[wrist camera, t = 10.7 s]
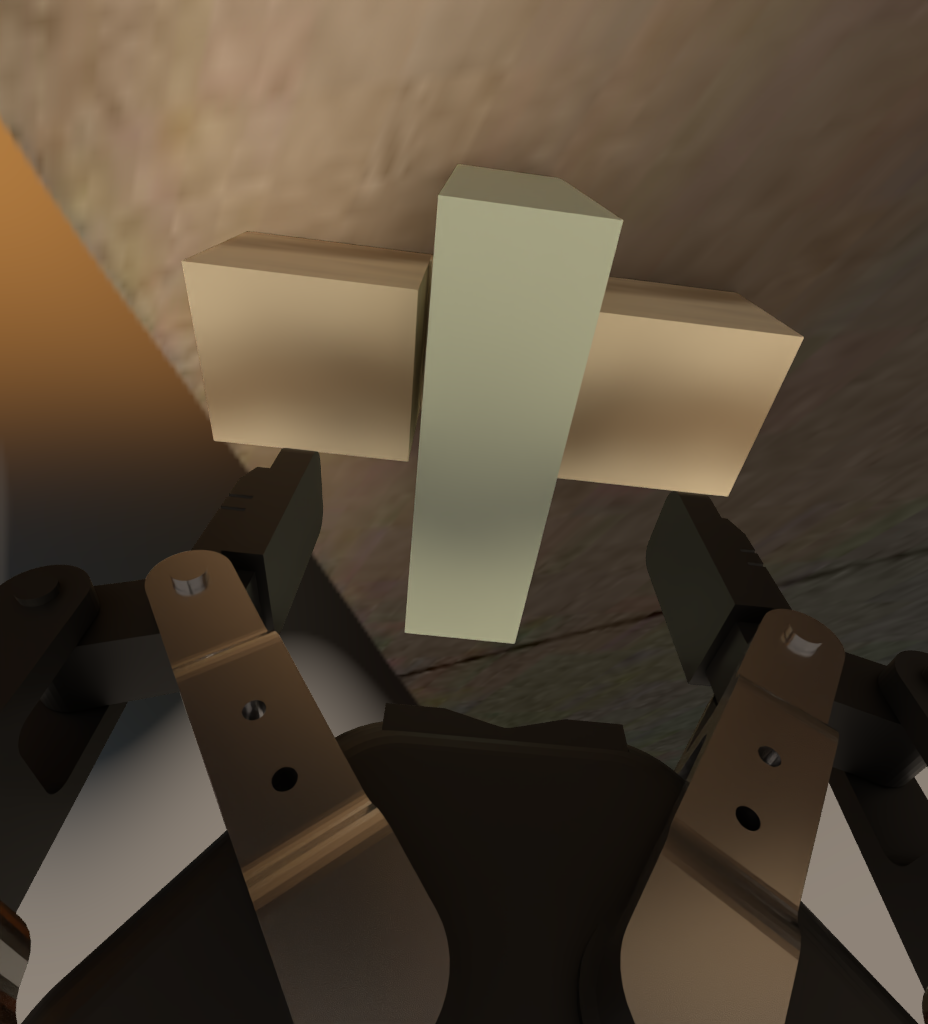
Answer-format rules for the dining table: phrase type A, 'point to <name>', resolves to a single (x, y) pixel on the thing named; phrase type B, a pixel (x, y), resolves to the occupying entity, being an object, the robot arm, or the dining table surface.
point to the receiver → (402, 354)
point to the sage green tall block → (499, 389)
